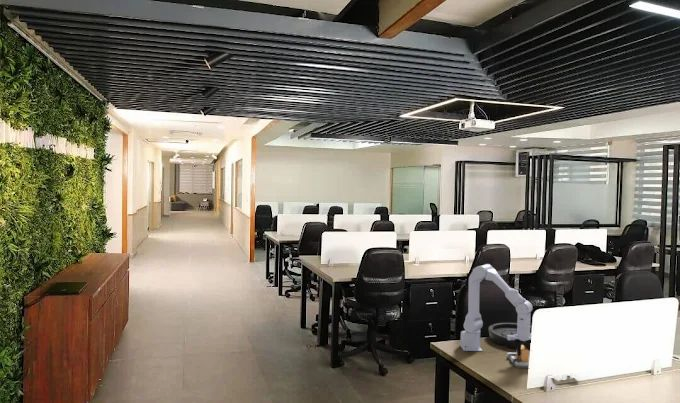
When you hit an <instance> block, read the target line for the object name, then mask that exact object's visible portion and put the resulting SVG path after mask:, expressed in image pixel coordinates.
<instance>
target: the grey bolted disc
mask: <svg viewBox="0 0 680 403" xmlns="http://www.w3.org/2000/svg"><path fill="white" fill-rule="evenodd" d="M531 326H532V325H530V331H531ZM488 333H489V334H488V335H489V337H490V339H491V340H492V342H493V343H496V344H497V345H500V346H501V347H505V348H508V349H512V350H517V349H516V346H515V343H514V341H513V340H508V339H507V335H515V334H517V322H498V323H493V324H491V325H489V326H488ZM520 342H521V343H522V344H521V345H524V346H525V340H520Z"/></svg>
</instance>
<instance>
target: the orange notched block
mask: <svg viewBox="0 0 680 403" xmlns="http://www.w3.org/2000/svg"><path fill="white" fill-rule="evenodd" d="M515 353H516V355H517V351H516V352H515ZM517 356H518V355H517ZM520 356H521V361H528V359H529V356H530V351H529V350H528V349H527V348H526V347H525V346H524V345H521V355H520Z"/></svg>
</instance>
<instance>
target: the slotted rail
mask: <svg viewBox="0 0 680 403" xmlns="http://www.w3.org/2000/svg"><path fill="white" fill-rule="evenodd" d="M506 358H507V359H508V360H509V361H510V363H512V364H513V366H514V367H515V368H516V369H529V368H528V361H521V356H517V355H516V352H509V351H508V352H507V353H506Z"/></svg>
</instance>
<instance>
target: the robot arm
mask: <svg viewBox="0 0 680 403" xmlns="http://www.w3.org/2000/svg"><path fill="white" fill-rule="evenodd" d="M483 280H486V281H490V282H491V281H492V282H493V283H494V284H495V285H497V286H498V288H500V290H502V291H503V293H504V296H505V298H506V299H507V300H508V301H509V302H510V303H511V304H512V305H513V307H514V308H515V312H516V313H517V317H516V318H517V322H516V323H517V334H515V335H507V339H508V340H513V341H514V343H515V346H516V349H515V350H516V352H517V355H518V356H520V355H521V344H522V343H521V342H520V340H525V347H526V348H527V349H528V350H529V352H530V351H531V350H530V343H531V335H530V326H531V319H532V318H531V316H532V315H531V312H532V311H533V304H532V302H531V301H529V300H528V299H527V300H526V298H524V297H523V296H522V295H521V294H520V293H519V290H518V289H515V288H512V287H510V286H509V285H508V284H507V282H506V281H505V280H504V279H503V277H502V276H501V275H500V274H499V273H498V271H497V270H496V269H495V267H494V266H492V265H491V264H490V263H485V264H483V265H478V266H476V267H474V268H473V269H472V271H471V273H470V275H469V277H468V293H467V294H468V296H467V297H468V299H467V301H468V303H467V307H468V308H467V310H468V311H467V313H466V315H465V317H464V318H465V320H464V323H463V329H464V330H462V331H461V330H460V341H459V342H460V343H459V346H460V347H461V349H462V351H463V352H483V349H482V348H481V329H482V328H483V326H484V325H483V324H484V322H483V319H482V314H481V313H480V284H481V282H482V281H483Z"/></svg>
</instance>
